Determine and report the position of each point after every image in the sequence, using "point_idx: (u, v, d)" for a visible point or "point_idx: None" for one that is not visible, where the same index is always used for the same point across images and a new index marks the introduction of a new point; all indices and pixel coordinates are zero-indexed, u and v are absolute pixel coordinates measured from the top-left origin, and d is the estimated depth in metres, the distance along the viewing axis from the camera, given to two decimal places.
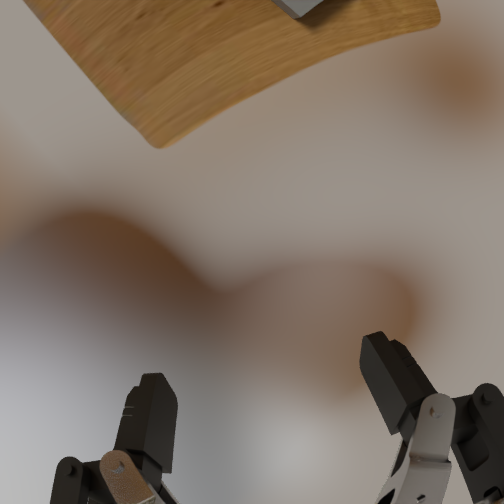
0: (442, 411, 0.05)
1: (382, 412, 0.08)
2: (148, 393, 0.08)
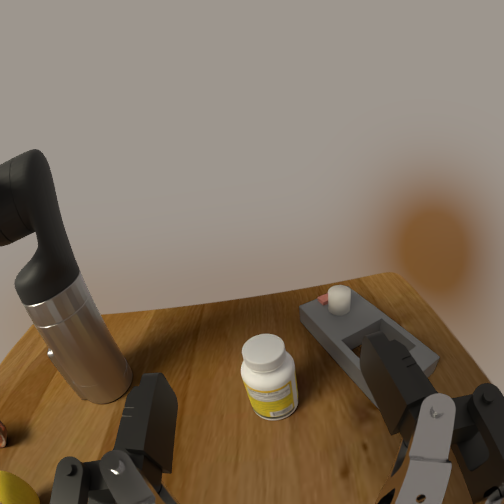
0: (442, 411, 0.05)
1: (382, 412, 0.08)
2: (148, 393, 0.08)
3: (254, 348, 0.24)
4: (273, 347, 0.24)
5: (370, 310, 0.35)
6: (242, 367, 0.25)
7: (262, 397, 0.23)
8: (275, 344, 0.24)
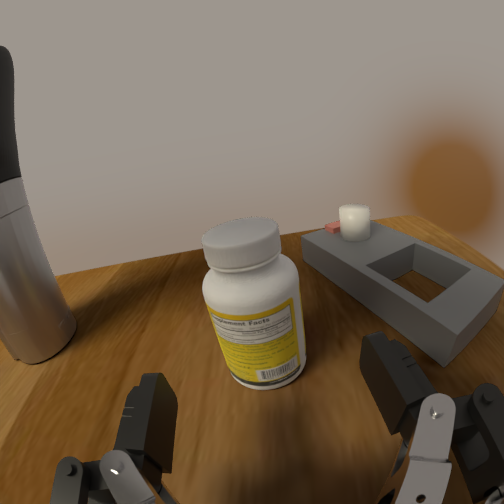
0: (442, 411, 0.05)
1: (382, 412, 0.08)
2: (148, 393, 0.08)
3: (222, 232, 0.14)
4: (257, 227, 0.14)
5: (397, 236, 0.25)
6: (205, 278, 0.15)
7: (239, 333, 0.13)
8: (261, 224, 0.14)
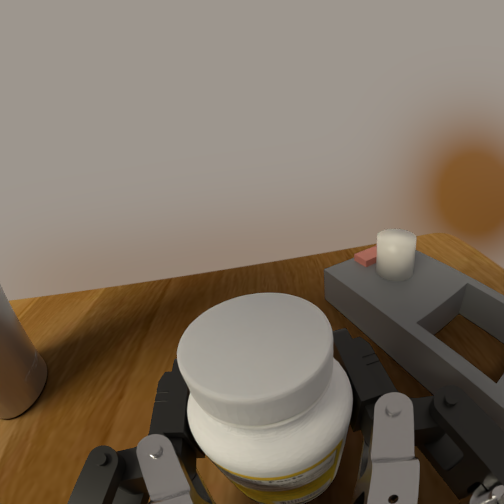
0: (397, 410, 0.06)
1: None
2: (182, 377, 0.09)
3: (219, 338, 0.07)
4: (290, 334, 0.06)
5: (445, 272, 0.18)
6: (190, 397, 0.08)
7: (251, 484, 0.06)
8: (296, 324, 0.07)
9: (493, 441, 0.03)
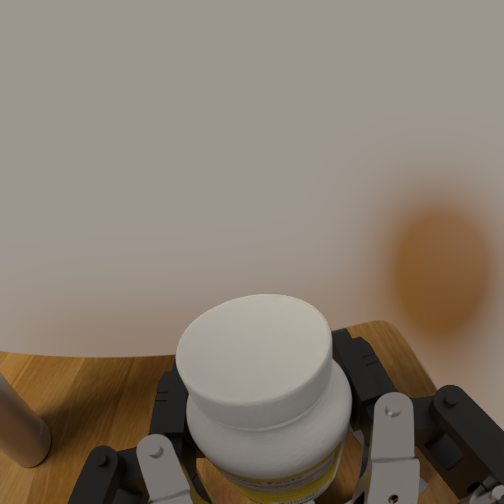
0: (397, 410, 0.06)
1: None
2: None
3: (218, 340, 0.07)
4: (289, 336, 0.06)
5: None
6: (189, 398, 0.08)
7: (250, 485, 0.06)
8: (295, 326, 0.07)
9: (493, 440, 0.03)
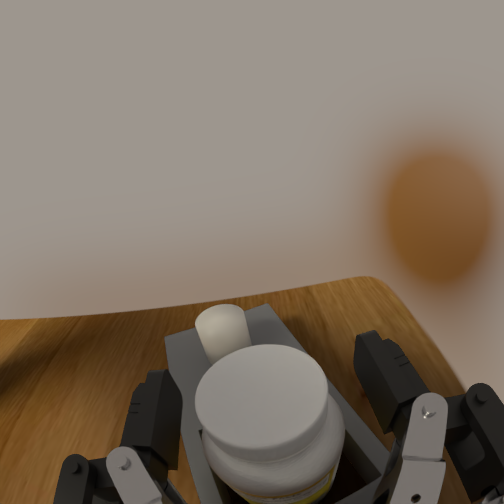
0: (434, 410, 0.05)
1: (375, 411, 0.08)
2: (154, 390, 0.08)
3: (231, 390, 0.07)
4: (291, 389, 0.07)
5: None
6: (204, 430, 0.08)
7: (258, 500, 0.07)
8: (297, 379, 0.07)
9: None
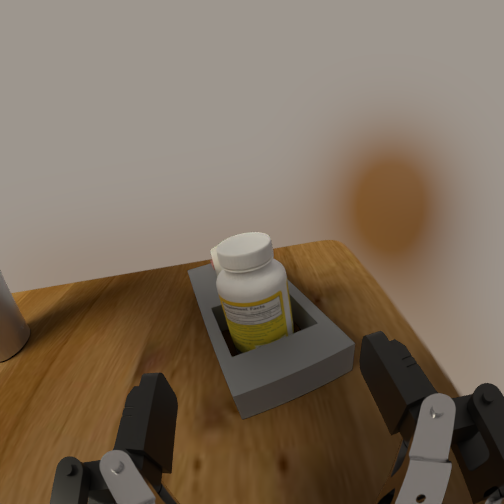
0: (442, 411, 0.05)
1: (382, 412, 0.08)
2: (148, 393, 0.08)
3: (231, 244, 0.20)
4: (256, 241, 0.19)
5: None
6: (218, 276, 0.20)
7: (243, 316, 0.19)
8: (259, 238, 0.19)
9: None
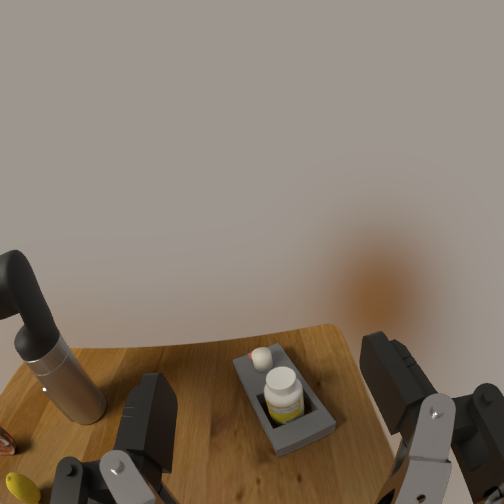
0: (442, 411, 0.05)
1: (382, 412, 0.08)
2: (148, 393, 0.08)
3: (274, 378, 0.33)
4: (288, 377, 0.32)
5: None
6: (265, 390, 0.34)
7: (279, 410, 0.32)
8: (289, 375, 0.33)
9: None
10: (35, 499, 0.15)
